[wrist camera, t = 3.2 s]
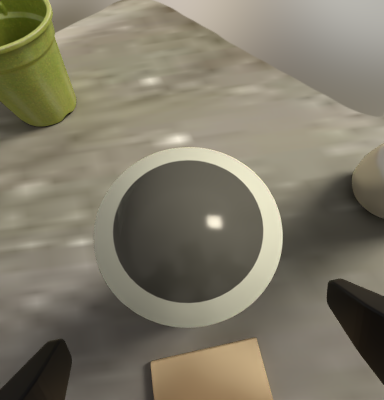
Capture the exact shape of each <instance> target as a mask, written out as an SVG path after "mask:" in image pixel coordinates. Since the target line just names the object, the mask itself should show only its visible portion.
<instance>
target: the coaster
mask: <svg viewBox="0 0 384 400" xmlns="http://www.w3.org/2000/svg"><path fill="white" fill-rule="evenodd" d="M151 373H152V384H153V394H154V400H273V398H272V394H271V390H270V387H269V383H268V379H267V375H266V372H265V368H264V364H263V361H262V357H261V353H260V350H259V346H258V342H257V339H256V338H250V339H245V340H241V341H237V342H232V343H228V344H223V345H219V346H215V347H210V348H206V349H202V350H197V351H193V352H188V353H184V354H180V355H175V356H171V357H167V358H162V359H158V360H153V361H151Z"/></svg>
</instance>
